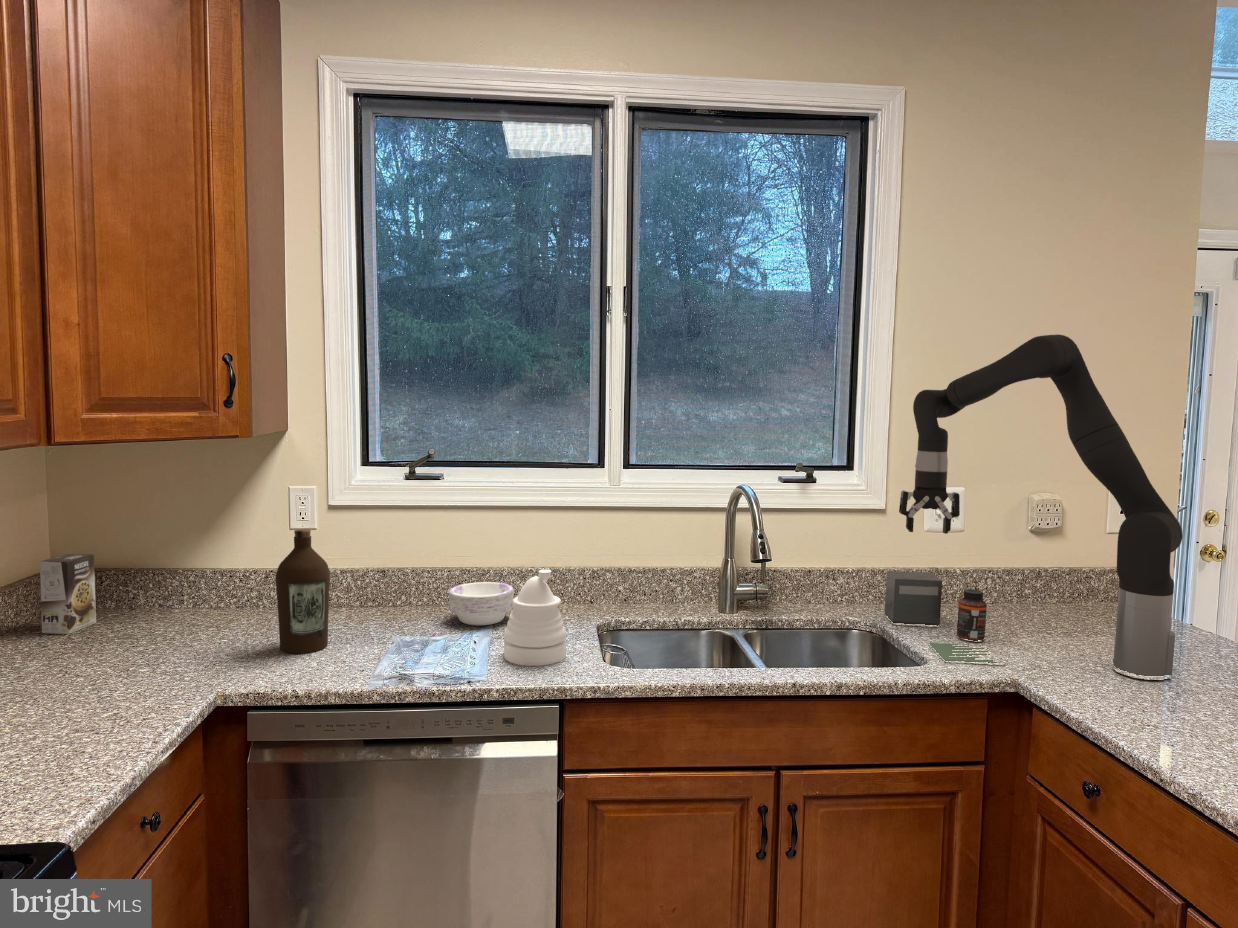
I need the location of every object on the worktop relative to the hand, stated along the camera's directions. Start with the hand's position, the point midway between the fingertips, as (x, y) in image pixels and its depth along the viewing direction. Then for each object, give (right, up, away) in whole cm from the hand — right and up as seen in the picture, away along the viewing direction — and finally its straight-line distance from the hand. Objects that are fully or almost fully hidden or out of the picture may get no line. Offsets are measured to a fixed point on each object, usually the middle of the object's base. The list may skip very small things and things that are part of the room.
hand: (927, 532), depth 204 cm
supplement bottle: (+2, -23, -20) cm, 30 cm away
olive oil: (-145, -22, -35) cm, 151 cm away
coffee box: (-201, -20, -25) cm, 204 cm away
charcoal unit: (-6, -22, -6) cm, 23 cm away
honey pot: (-96, -23, -37) cm, 106 cm away
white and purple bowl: (-112, -20, -12) cm, 114 cm away
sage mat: (-4, -24, -31) cm, 40 cm away
